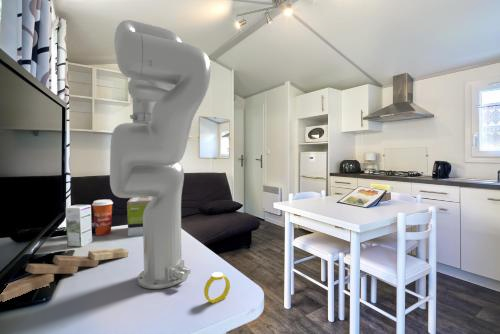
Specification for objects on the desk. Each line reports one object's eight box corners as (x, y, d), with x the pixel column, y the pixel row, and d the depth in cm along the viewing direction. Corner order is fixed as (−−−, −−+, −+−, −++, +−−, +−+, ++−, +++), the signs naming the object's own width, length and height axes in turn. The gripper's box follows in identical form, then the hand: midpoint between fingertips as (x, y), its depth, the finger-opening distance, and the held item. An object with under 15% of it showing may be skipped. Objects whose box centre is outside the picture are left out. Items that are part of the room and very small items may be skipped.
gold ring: (224, 294, 59) (226, 269, 59) (231, 299, 57) (232, 273, 57) (201, 301, 55) (203, 274, 55) (207, 307, 53) (209, 279, 53)
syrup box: (92, 241, 96) (91, 204, 95) (81, 247, 90) (79, 207, 89) (79, 241, 96) (77, 204, 96) (66, 246, 91) (65, 207, 90)
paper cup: (93, 237, 101) (92, 203, 101) (92, 232, 108) (91, 200, 107) (114, 234, 105) (114, 201, 105) (113, 229, 112) (112, 198, 111)
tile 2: (78, 267, 69) (34, 266, 61) (76, 273, 69) (32, 273, 61) (70, 264, 72) (27, 263, 64) (68, 270, 71) (25, 270, 64)
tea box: (132, 227, 116) (132, 195, 115) (156, 225, 119) (155, 194, 118) (127, 237, 102) (126, 200, 101) (153, 234, 105) (153, 199, 104)
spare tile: (128, 251, 81) (95, 254, 74) (127, 256, 81) (94, 260, 74) (121, 248, 85) (88, 251, 77) (120, 253, 84) (87, 256, 77)
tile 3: (53, 274, 63) (3, 294, 54) (53, 280, 63) (3, 302, 54) (40, 271, 65) (-11, 290, 55) (41, 277, 65) (-10, 297, 56)
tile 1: (98, 260, 74) (59, 259, 67) (97, 266, 74) (57, 266, 67) (92, 256, 77) (54, 255, 70) (90, 262, 77) (52, 261, 70)
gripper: (131, 116, 80) (133, 173, 81) (168, 121, 93) (169, 171, 94) (118, 118, 84) (119, 172, 85) (155, 123, 97) (156, 170, 98)
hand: (145, 171), depth 89 cm, fingers closed
